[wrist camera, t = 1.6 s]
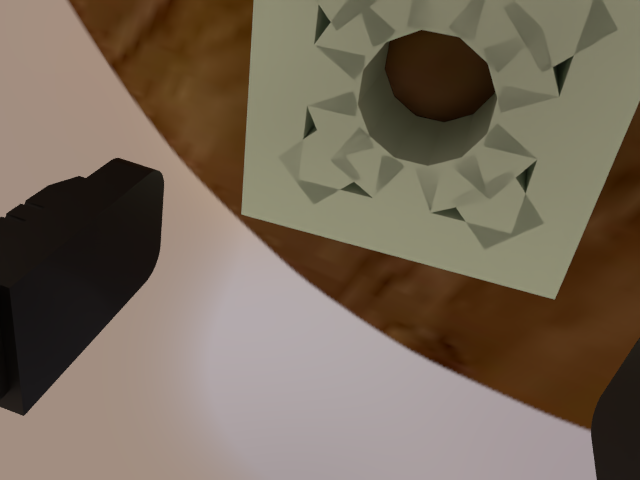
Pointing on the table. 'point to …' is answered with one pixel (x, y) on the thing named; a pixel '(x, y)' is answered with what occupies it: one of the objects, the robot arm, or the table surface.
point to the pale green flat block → (441, 130)
